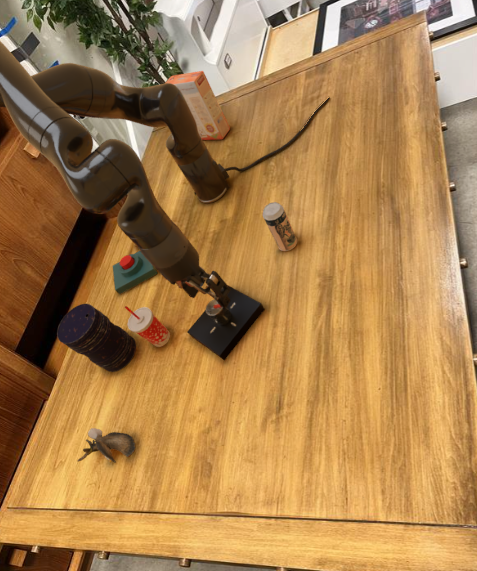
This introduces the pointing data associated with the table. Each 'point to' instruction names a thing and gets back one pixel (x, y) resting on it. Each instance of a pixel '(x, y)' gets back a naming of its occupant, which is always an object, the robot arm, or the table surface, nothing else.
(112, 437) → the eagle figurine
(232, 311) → the control panel
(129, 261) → the button
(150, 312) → the beverage cup
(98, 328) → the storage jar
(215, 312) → the dial
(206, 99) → the cracker box
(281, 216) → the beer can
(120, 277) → the button block
